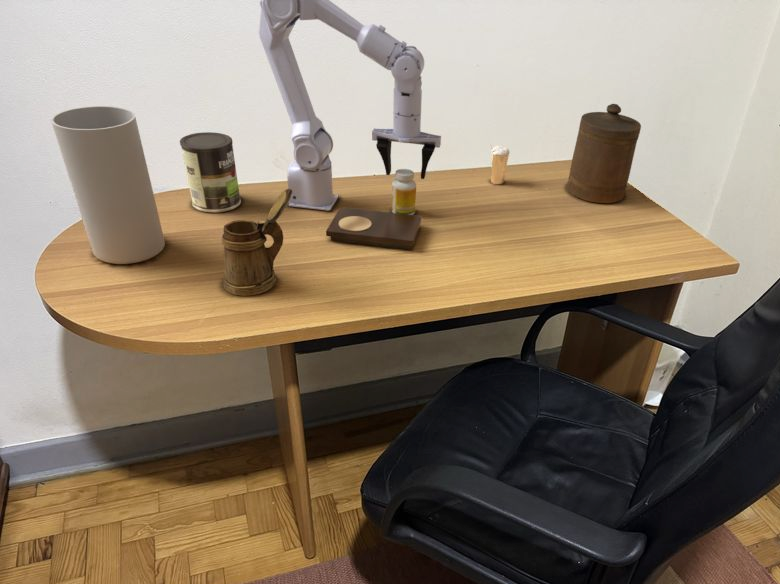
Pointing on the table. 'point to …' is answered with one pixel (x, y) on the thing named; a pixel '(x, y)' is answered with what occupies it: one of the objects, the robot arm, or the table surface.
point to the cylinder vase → (110, 182)
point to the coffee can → (211, 171)
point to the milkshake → (498, 164)
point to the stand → (374, 228)
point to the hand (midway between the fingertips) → (405, 175)
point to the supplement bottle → (404, 192)
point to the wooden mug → (253, 251)
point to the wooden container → (603, 156)
